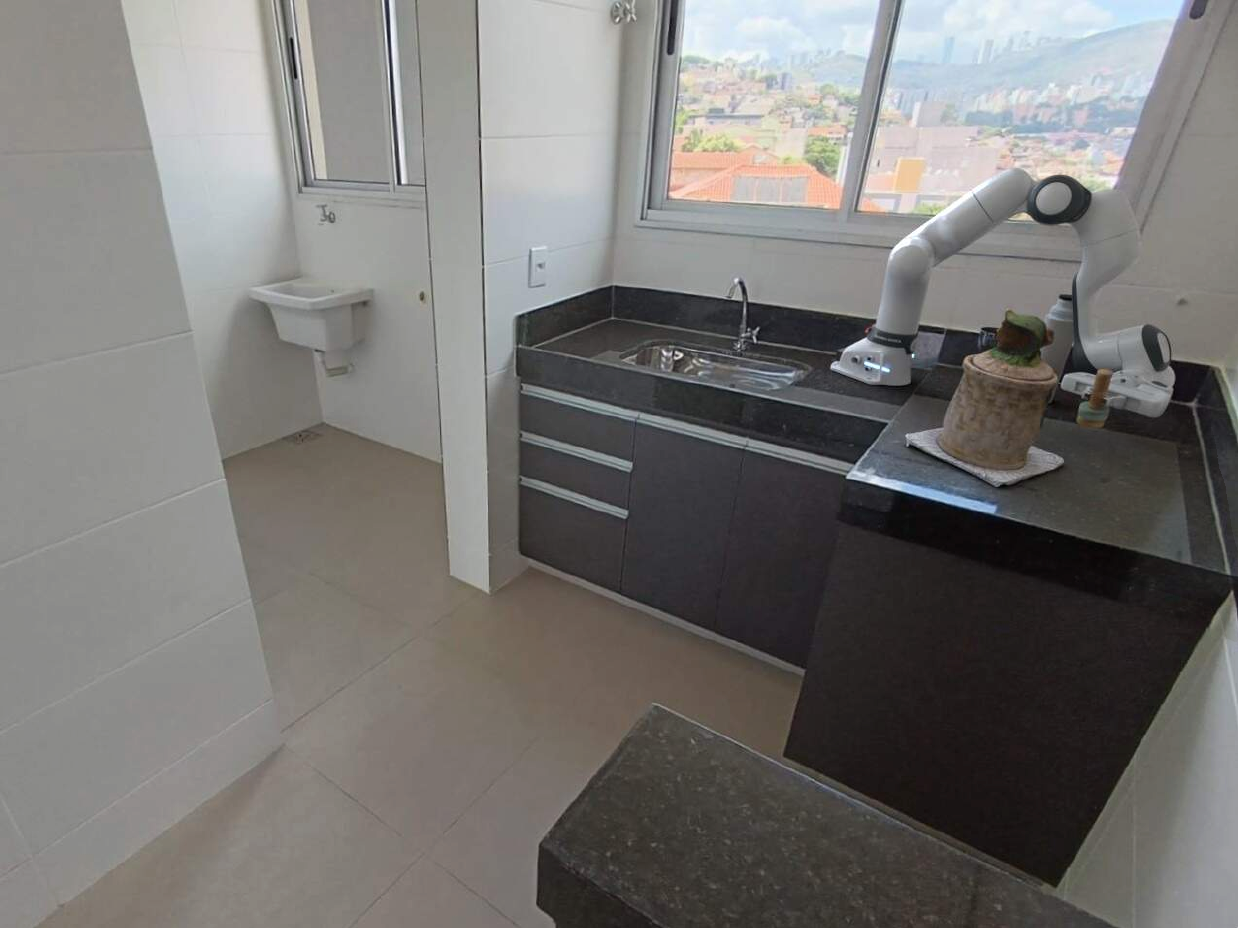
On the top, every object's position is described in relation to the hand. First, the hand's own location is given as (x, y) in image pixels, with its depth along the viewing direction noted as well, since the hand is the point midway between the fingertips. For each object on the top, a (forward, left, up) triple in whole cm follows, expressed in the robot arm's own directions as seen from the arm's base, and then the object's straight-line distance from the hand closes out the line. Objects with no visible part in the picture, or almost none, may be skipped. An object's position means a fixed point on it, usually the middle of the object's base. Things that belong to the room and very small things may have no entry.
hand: (1095, 398), depth 148 cm
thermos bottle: (-17, +32, -13) cm, 38 cm away
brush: (+1, +2, -6) cm, 6 cm away
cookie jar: (-14, -19, -13) cm, 27 cm away
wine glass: (-32, +34, -13) cm, 48 cm away
